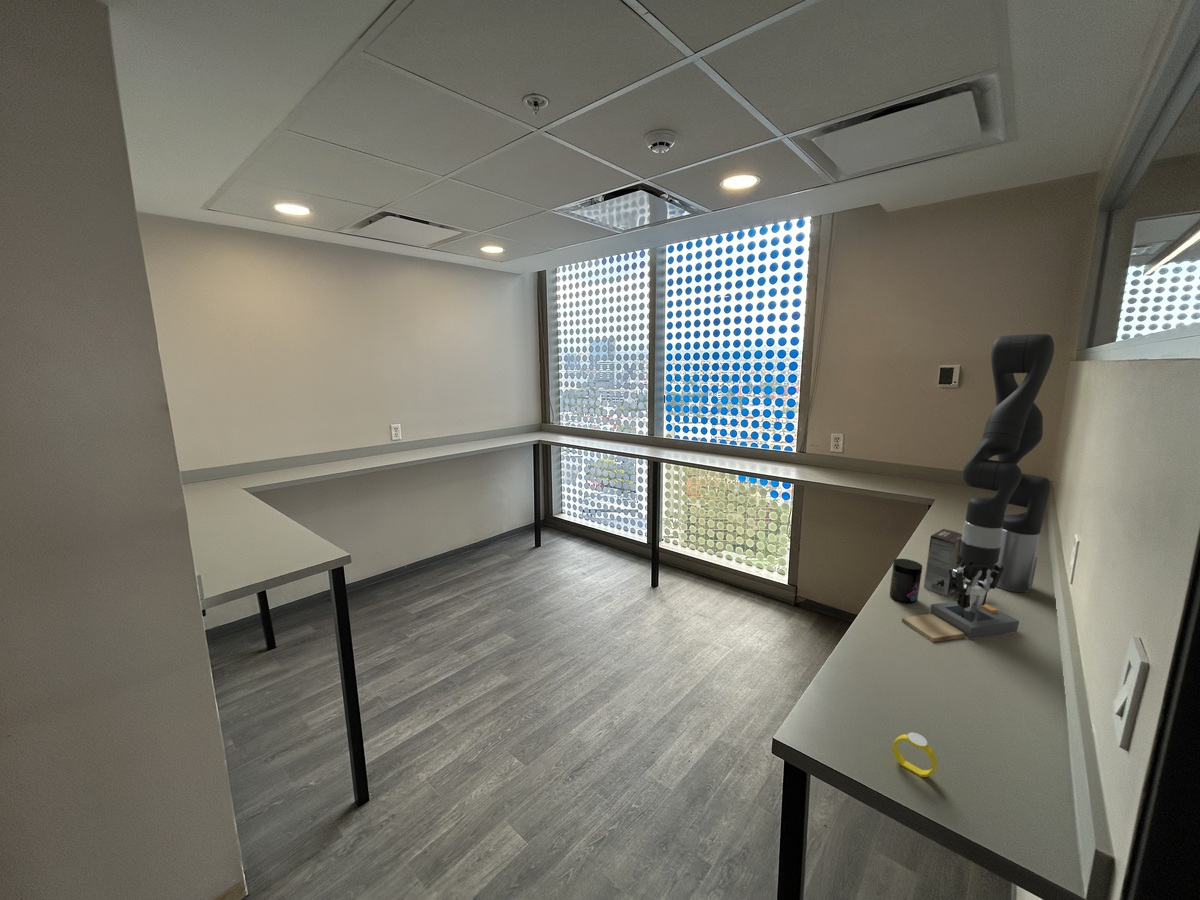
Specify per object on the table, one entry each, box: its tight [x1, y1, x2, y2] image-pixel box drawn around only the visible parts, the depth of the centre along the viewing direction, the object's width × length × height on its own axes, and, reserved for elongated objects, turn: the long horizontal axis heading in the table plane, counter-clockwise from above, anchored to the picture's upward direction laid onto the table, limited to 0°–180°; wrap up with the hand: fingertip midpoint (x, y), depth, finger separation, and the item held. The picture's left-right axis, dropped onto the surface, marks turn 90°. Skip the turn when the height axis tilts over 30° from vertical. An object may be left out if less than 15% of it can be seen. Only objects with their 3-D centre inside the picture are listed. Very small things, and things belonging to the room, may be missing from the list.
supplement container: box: [889, 558, 923, 605], centre depth 132 cm, size 7×7×10 cm
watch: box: [892, 731, 938, 778], centre depth 78 cm, size 6×3×6 cm, turn 40°
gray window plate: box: [929, 600, 1020, 640], centre depth 120 cm, size 14×11×4 cm
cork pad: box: [901, 613, 965, 643], centre depth 118 cm, size 9×9×1 cm
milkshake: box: [961, 584, 986, 622], centre depth 119 cm, size 5×5×10 cm
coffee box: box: [923, 528, 962, 597], centre depth 137 cm, size 9×6×16 cm
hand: (970, 604), depth 119 cm, fingers closed on milkshake, 4 cm apart
